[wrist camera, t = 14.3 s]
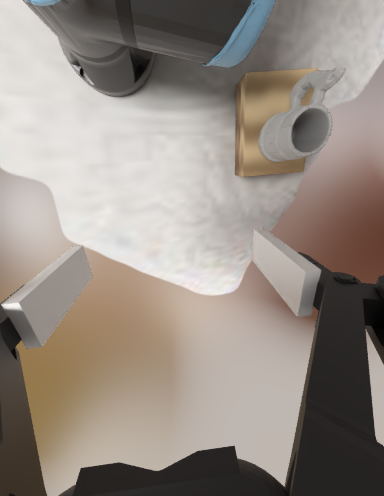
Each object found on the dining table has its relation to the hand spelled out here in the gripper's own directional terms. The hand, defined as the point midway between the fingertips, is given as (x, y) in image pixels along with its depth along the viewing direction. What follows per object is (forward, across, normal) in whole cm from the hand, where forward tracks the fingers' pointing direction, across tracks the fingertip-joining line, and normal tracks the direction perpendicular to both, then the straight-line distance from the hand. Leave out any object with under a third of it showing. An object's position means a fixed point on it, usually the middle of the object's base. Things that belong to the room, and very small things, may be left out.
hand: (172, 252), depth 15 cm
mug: (+26, +20, +11) cm, 35 cm away
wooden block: (+32, +20, +11) cm, 39 cm away
